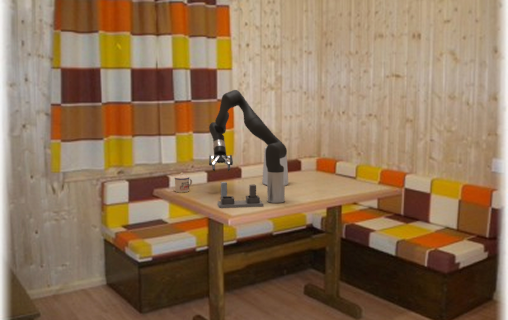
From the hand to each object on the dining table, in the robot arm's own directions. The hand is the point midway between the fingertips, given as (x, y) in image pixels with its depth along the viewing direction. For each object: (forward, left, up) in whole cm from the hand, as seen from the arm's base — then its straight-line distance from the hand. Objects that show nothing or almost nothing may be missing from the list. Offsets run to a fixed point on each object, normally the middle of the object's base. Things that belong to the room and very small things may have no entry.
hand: (221, 170), depth 322 cm
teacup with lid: (+22, -14, -15) cm, 30 cm away
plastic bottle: (-38, -26, -15) cm, 49 cm away
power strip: (-7, +30, -15) cm, 34 cm away
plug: (0, +12, -15) cm, 19 cm away
